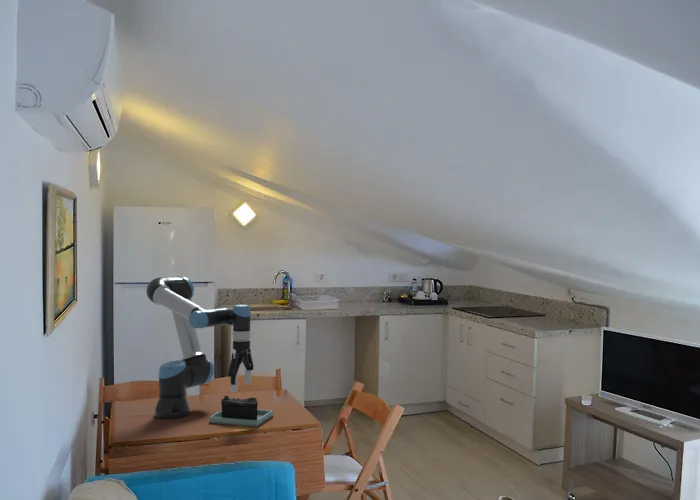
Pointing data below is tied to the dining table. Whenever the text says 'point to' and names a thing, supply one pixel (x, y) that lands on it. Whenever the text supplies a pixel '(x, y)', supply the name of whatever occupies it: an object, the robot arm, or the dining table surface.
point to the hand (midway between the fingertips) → (241, 388)
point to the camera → (239, 408)
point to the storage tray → (261, 418)
